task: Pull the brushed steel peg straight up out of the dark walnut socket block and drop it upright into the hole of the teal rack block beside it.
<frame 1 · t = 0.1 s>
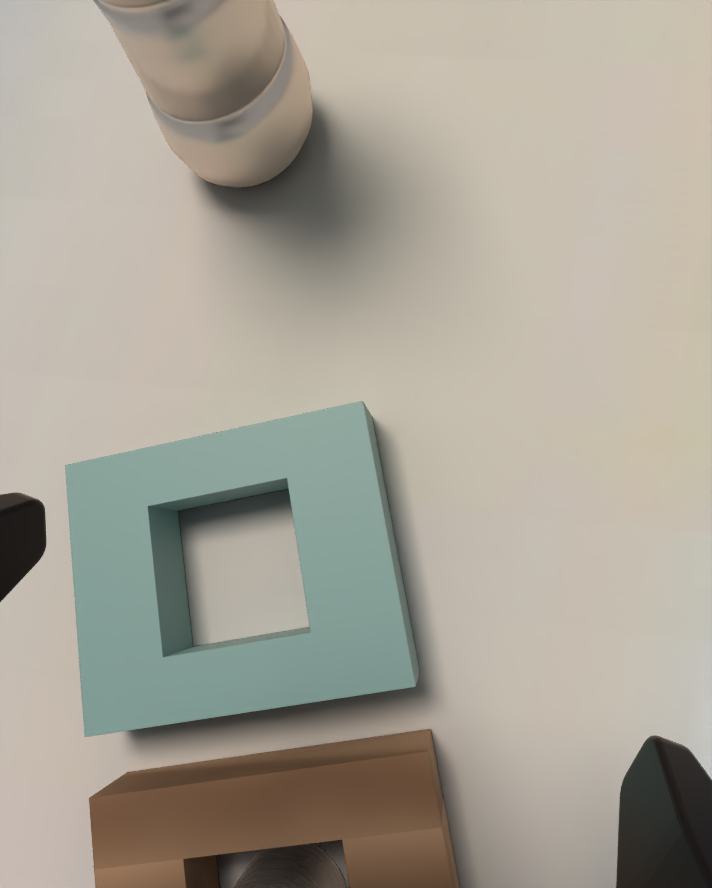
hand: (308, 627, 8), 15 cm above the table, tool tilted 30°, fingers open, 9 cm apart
rack block: (249, 565, 24), on the table
plastic bottle: (256, 145, 27), on the table
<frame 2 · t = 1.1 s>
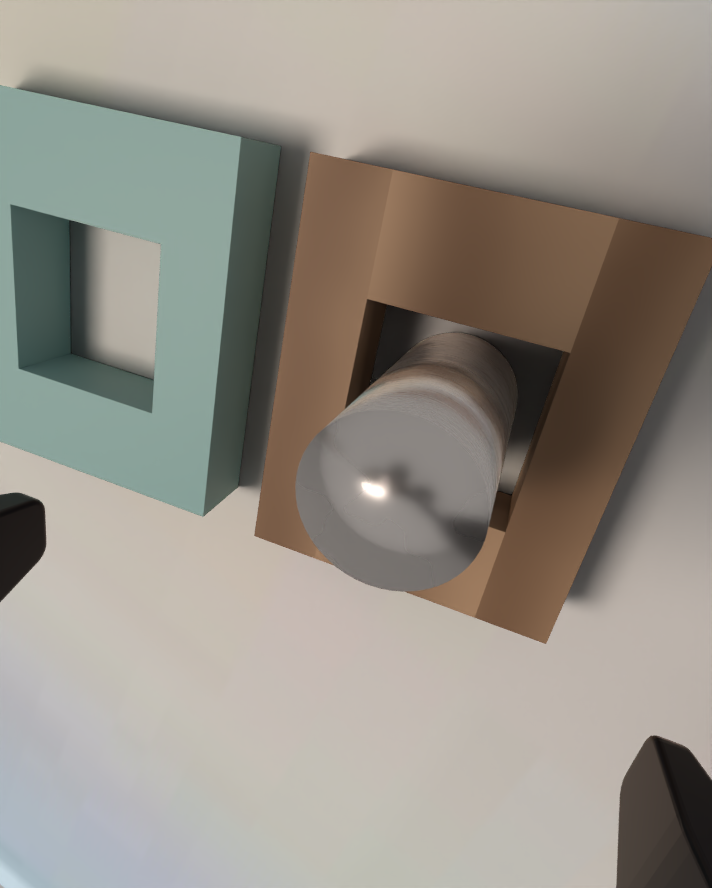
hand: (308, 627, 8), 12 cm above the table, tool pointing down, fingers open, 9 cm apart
steel peg: (428, 437, 15), in the socket block
rack block: (133, 301, 21), on the table
socket block: (453, 395, 19), on the table
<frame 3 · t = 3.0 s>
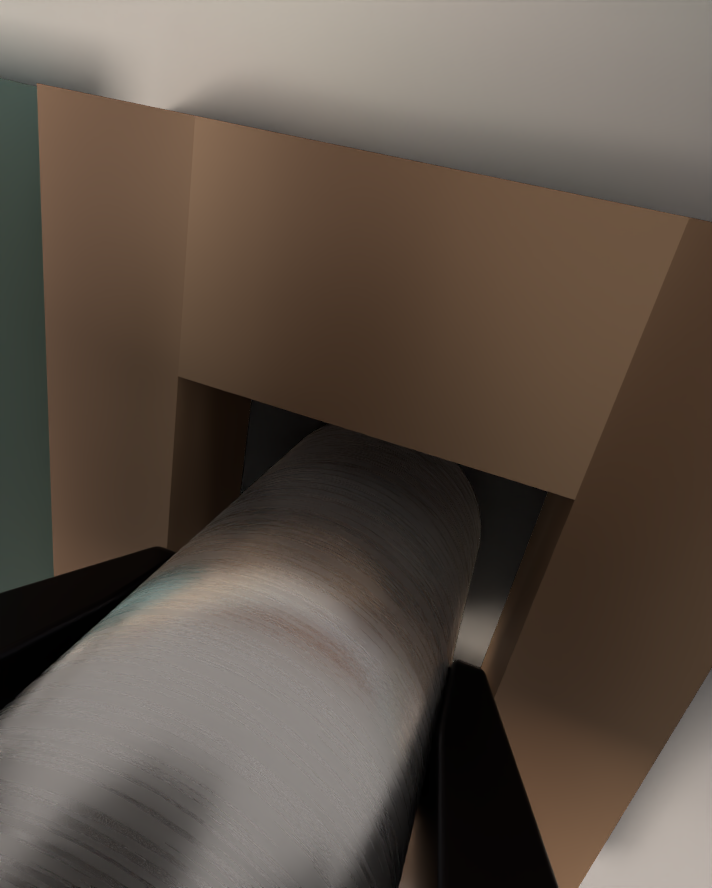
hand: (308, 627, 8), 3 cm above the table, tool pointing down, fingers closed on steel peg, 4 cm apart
steel peg: (285, 664, 8), in the socket block, touching gripper
socket block: (373, 519, 11), on the table
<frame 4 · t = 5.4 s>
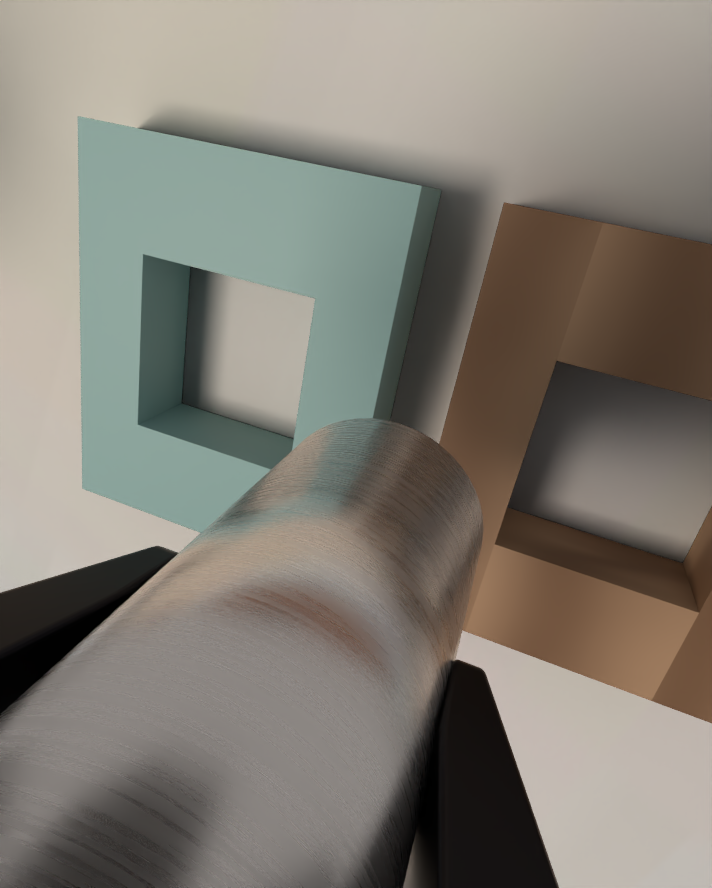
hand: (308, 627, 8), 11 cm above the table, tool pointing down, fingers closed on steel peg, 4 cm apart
steel peg: (288, 665, 7), point 12 cm above the table, touching gripper
rack block: (256, 351, 20), on the table
socket block: (622, 455, 17), on the table
when the fingers open (4 cm above the table, at t = 7.8 s): steel peg stays where it is, resting in rack block.
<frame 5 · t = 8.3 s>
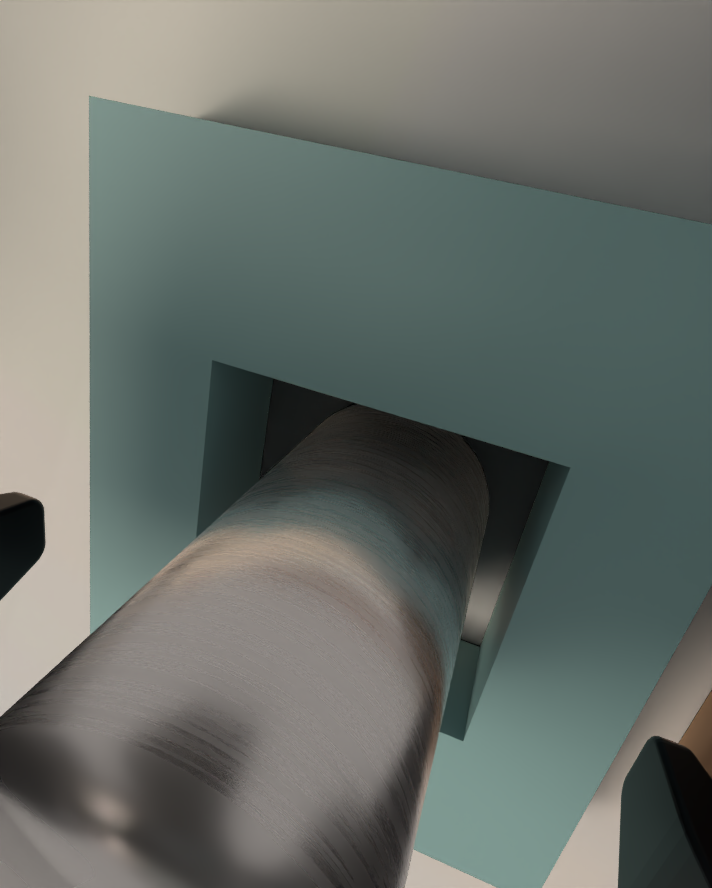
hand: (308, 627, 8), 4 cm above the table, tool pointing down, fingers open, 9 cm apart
steel peg: (316, 618, 8), in the rack block
rack block: (384, 496, 12), on the table
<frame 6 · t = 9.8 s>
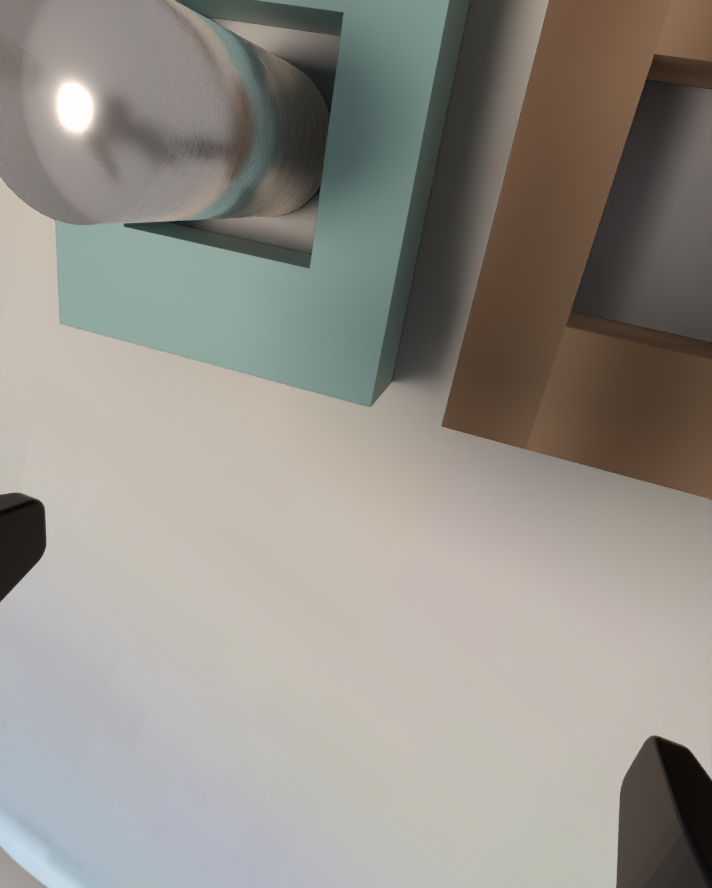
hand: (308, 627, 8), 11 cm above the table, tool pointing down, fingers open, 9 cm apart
steel peg: (191, 124, 13), in the rack block
rack block: (264, 141, 17), on the table
socket block: (711, 224, 14), on the table
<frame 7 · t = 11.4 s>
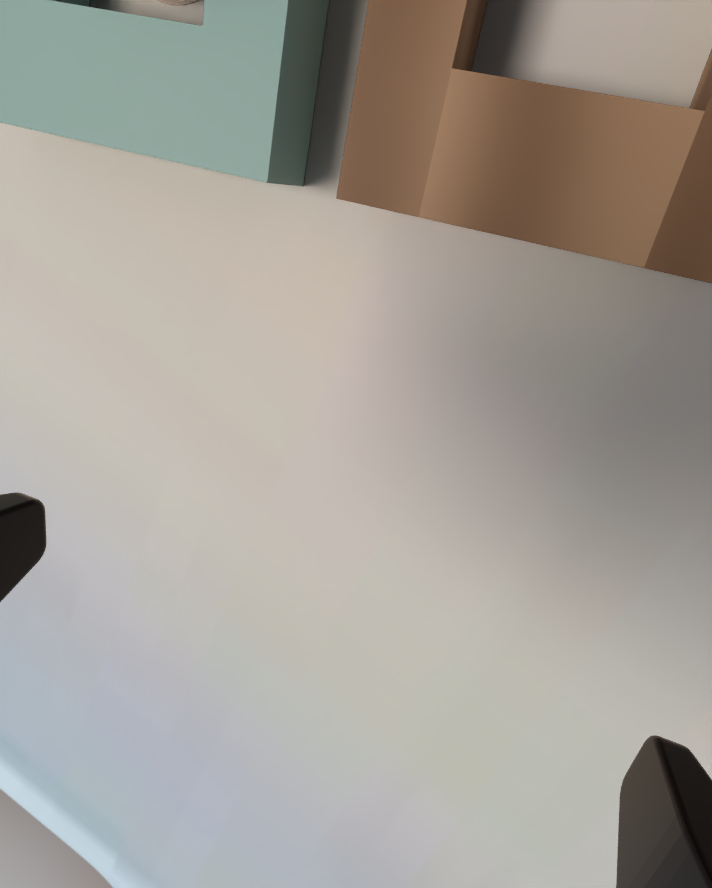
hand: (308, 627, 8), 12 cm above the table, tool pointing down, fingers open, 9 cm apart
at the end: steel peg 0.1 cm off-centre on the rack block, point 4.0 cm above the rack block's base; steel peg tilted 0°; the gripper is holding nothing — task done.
